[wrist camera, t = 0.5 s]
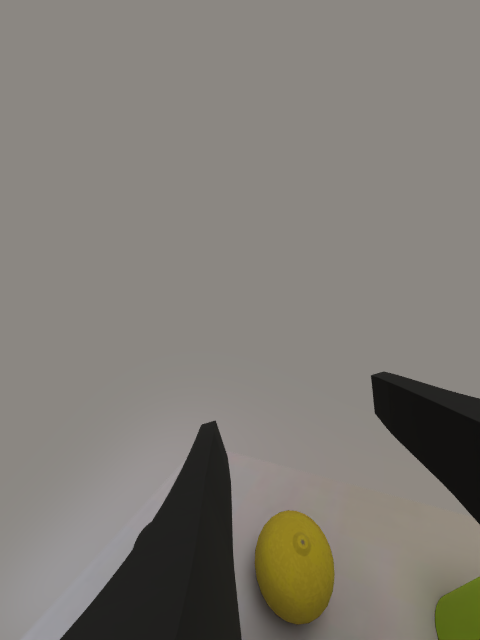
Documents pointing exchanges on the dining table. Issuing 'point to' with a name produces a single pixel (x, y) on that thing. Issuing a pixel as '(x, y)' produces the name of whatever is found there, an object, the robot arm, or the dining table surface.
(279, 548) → the lemon
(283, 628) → the dining table surface
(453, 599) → the soap dispenser
